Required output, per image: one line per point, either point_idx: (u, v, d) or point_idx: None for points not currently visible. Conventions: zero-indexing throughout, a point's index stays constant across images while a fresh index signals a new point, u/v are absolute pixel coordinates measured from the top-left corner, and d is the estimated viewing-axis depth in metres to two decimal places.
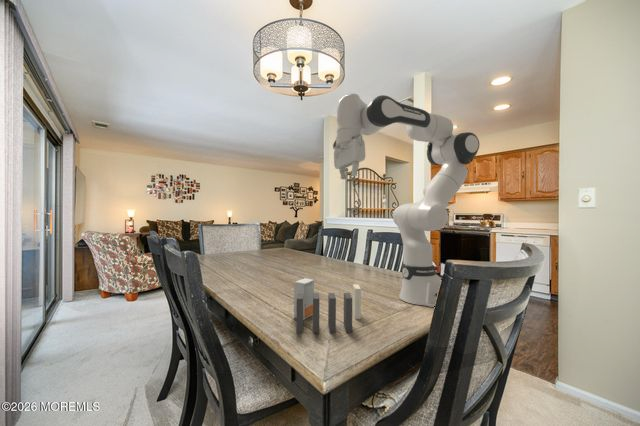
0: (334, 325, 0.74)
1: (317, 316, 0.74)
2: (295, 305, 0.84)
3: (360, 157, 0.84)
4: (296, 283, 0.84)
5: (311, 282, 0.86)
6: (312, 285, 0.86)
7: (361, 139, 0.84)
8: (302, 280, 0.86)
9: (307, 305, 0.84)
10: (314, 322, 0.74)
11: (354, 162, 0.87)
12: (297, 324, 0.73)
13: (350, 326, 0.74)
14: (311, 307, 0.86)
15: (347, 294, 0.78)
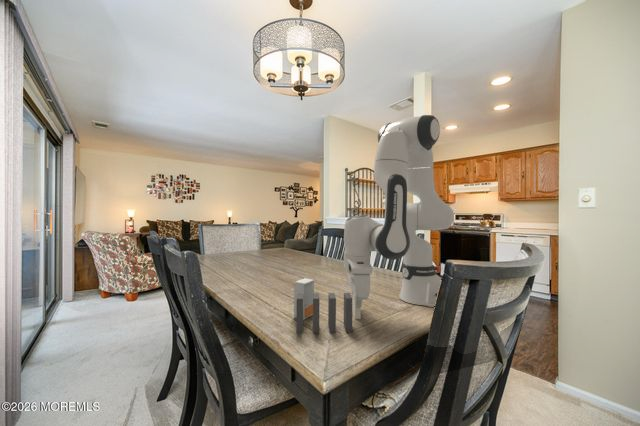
0: (334, 325, 0.74)
1: (317, 316, 0.74)
2: (295, 305, 0.84)
3: None
4: (296, 283, 0.84)
5: (311, 282, 0.86)
6: (312, 285, 0.86)
7: None
8: (302, 280, 0.86)
9: (307, 305, 0.84)
10: (314, 322, 0.74)
11: None
12: (297, 324, 0.73)
13: (350, 326, 0.74)
14: (311, 307, 0.86)
15: (347, 294, 0.78)
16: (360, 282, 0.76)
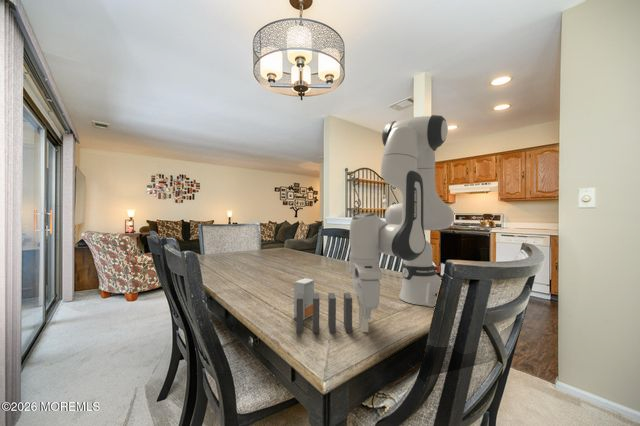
0: (334, 325, 0.74)
1: (317, 316, 0.74)
2: (295, 305, 0.84)
3: None
4: (296, 283, 0.84)
5: (311, 282, 0.86)
6: (312, 285, 0.86)
7: None
8: (302, 280, 0.86)
9: (307, 305, 0.84)
10: (314, 322, 0.74)
11: None
12: (297, 324, 0.73)
13: (350, 326, 0.74)
14: (311, 307, 0.86)
15: (347, 294, 0.78)
16: (369, 289, 0.67)
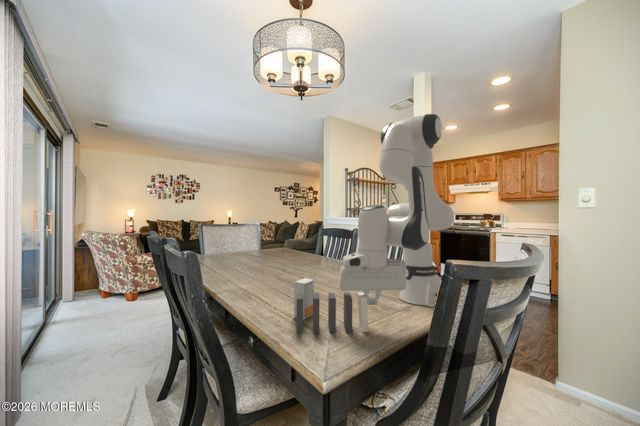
0: (334, 325, 0.74)
1: (317, 316, 0.74)
2: (295, 305, 0.84)
3: None
4: (296, 283, 0.84)
5: (311, 282, 0.86)
6: (312, 285, 0.86)
7: None
8: (302, 280, 0.86)
9: (307, 305, 0.84)
10: (314, 322, 0.74)
11: (380, 290, 0.76)
12: (297, 324, 0.73)
13: (350, 326, 0.74)
14: (311, 307, 0.86)
15: (347, 294, 0.78)
16: (340, 271, 0.77)
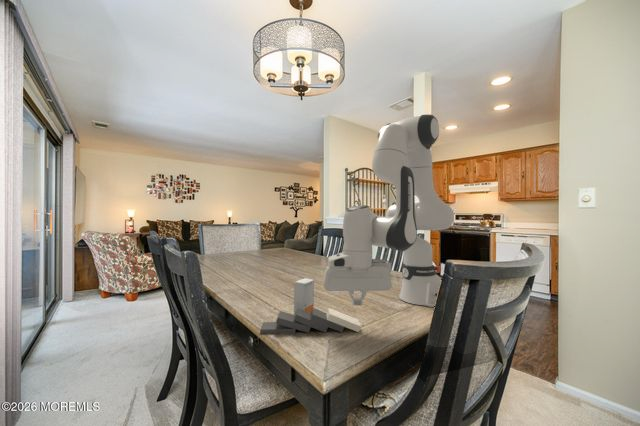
0: (320, 325, 0.74)
1: (294, 324, 0.74)
2: (295, 305, 0.84)
3: None
4: (296, 283, 0.84)
5: (311, 282, 0.86)
6: (312, 285, 0.86)
7: None
8: (302, 280, 0.86)
9: (307, 305, 0.84)
10: (299, 328, 0.74)
11: (365, 291, 0.76)
12: None
13: (338, 326, 0.74)
14: (311, 307, 0.86)
15: (311, 312, 0.77)
16: (325, 271, 0.77)
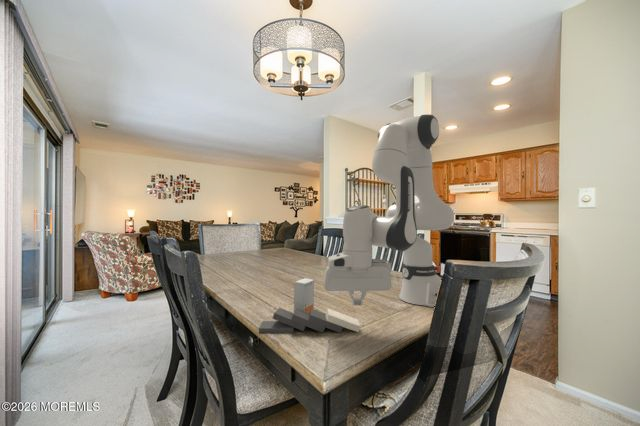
0: (317, 325, 0.74)
1: (289, 321, 0.75)
2: (295, 305, 0.84)
3: None
4: (296, 283, 0.84)
5: (311, 282, 0.86)
6: (312, 285, 0.86)
7: None
8: (302, 280, 0.86)
9: (307, 305, 0.84)
10: (294, 326, 0.75)
11: (365, 291, 0.76)
12: None
13: (336, 326, 0.74)
14: (311, 307, 0.86)
15: (309, 312, 0.77)
16: (325, 271, 0.77)
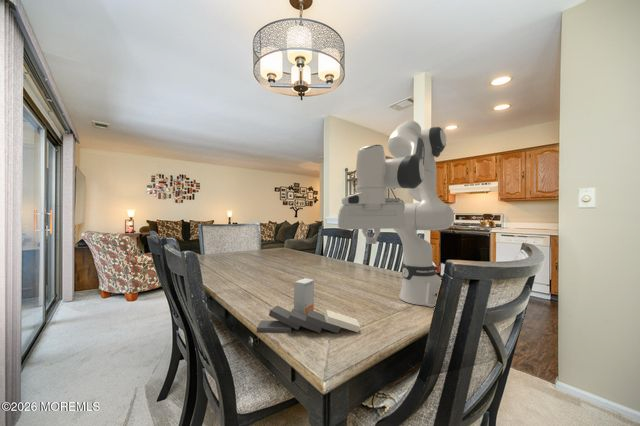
0: (314, 325, 0.74)
1: (284, 318, 0.76)
2: (295, 305, 0.84)
3: None
4: (296, 283, 0.84)
5: (311, 282, 0.86)
6: (312, 285, 0.86)
7: None
8: (302, 280, 0.86)
9: (307, 305, 0.84)
10: (288, 324, 0.75)
11: (379, 229, 0.77)
12: None
13: (333, 327, 0.73)
14: (311, 307, 0.86)
15: (307, 313, 0.77)
16: (339, 211, 0.78)
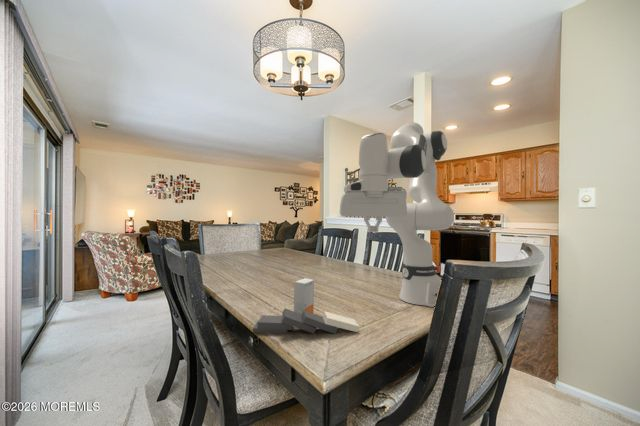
0: (309, 326, 0.73)
1: (274, 324, 0.74)
2: (295, 305, 0.84)
3: None
4: (296, 283, 0.84)
5: (311, 282, 0.86)
6: (312, 285, 0.86)
7: None
8: (302, 280, 0.86)
9: (307, 305, 0.84)
10: (280, 327, 0.73)
11: (381, 217, 0.77)
12: None
13: (331, 327, 0.73)
14: (311, 307, 0.86)
15: (303, 314, 0.75)
16: (341, 199, 0.78)
